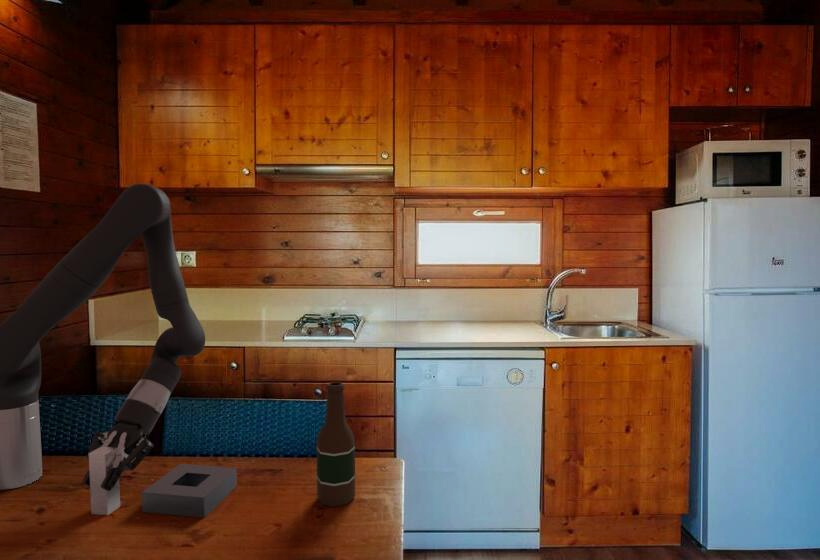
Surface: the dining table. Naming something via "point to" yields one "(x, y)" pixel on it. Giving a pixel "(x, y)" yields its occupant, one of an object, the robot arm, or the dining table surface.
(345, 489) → the beer bottle
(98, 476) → the white rectangular block
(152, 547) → the dining table surface
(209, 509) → the collar block
